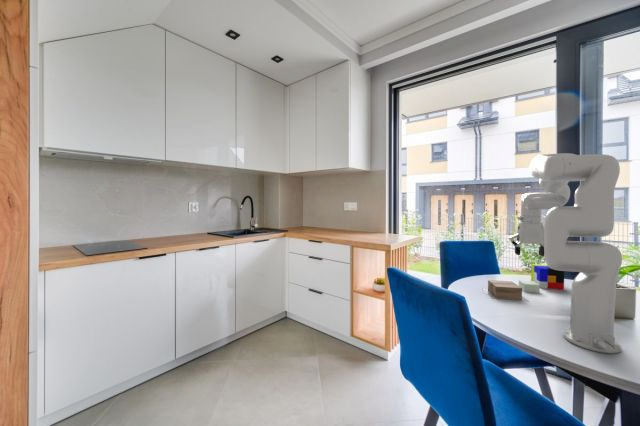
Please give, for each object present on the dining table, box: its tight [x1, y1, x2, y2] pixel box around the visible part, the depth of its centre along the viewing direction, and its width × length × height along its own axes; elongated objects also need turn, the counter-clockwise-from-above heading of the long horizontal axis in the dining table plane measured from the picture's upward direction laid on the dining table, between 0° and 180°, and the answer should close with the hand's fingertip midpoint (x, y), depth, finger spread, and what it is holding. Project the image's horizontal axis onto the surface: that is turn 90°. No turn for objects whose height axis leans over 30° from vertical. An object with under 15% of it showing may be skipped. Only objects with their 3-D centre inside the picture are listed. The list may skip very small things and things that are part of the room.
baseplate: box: [482, 288, 530, 303], centre depth 123 cm, size 14×14×1 cm
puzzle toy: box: [530, 263, 566, 291], centre depth 138 cm, size 10×10×10 cm
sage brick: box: [518, 279, 541, 294], centre depth 128 cm, size 6×6×5 cm
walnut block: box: [487, 279, 523, 300], centre depth 122 cm, size 10×10×5 cm
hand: (529, 255), depth 128 cm, fingers open, 9 cm apart
